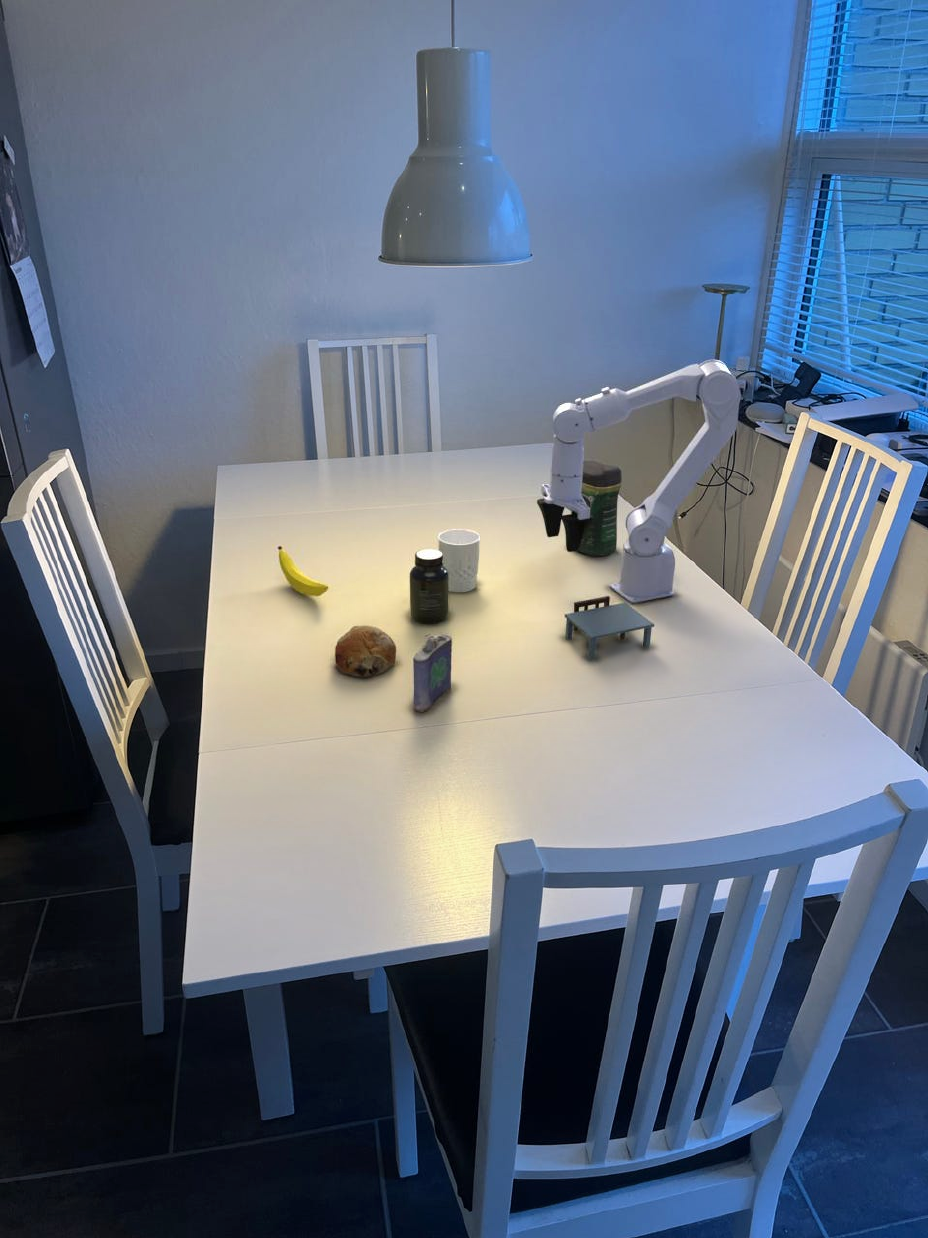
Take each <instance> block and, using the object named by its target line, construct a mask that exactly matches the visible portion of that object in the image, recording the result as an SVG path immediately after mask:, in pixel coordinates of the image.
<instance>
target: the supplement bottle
mask: <svg viewBox="0 0 928 1238" xmlns="http://www.w3.org/2000/svg"><path fill="white" fill-rule="evenodd" d="M449 603H450V591H449V573H448V571H447V569H446V568H445V567H444V566H443V554H442V552H440V551H439V549H434V548H425V549H421V550H418V551H416V552H415V553H414V566H413V567H412V568H411V569H410V571H409V609H410V612H409V613H410V617H411V618H412V620H413V621H415V622H416V623H419V624H423V625H433V624H434V625H435V624H439V623H442V622H445V621H446V620H447V619H448V617H449V615H450V604H449Z"/></svg>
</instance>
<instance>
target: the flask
mask: <svg viewBox="0 0 928 1238" xmlns="http://www.w3.org/2000/svg"><path fill="white" fill-rule="evenodd" d="M423 639H424V640H425V639H426V641H425V643H424V644H423V645H422V646H421V647H420V648H419V649H418V650H417V652H416V653H415V654H414V655H413V658H412V663H413V666H412V667H413V669H412V670H413V708H414V709H413V710H414V711H415V712H420V713H424V712H427V711H429V710H431V709H432V707H433V705H435V704H437V703H438V702H439V701H440V699H441V697H444V695H445V694H447V693H448V692H450V691H451V690H452V658H453V657H452V653H453V652H452V651H453V648H452V647H453V638H452V637H451V635H448V634H440V635H438V636H436V637H435V636H434V635H433V634H431V633H426V634H424V637H423Z"/></svg>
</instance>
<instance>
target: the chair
mask: <svg viewBox="0 0 928 1238" xmlns="http://www.w3.org/2000/svg"><path fill="white" fill-rule="evenodd" d="M610 601H611V597H610V596H609V595H606V596H600V597H596V598H591V599H585V600H581V601H575V602H573V613H574V612H579V611H580V608H583V611H584V610H589V606H594V608H599V607H600V605H601V604H603V607H604V606H609V605H610ZM578 631H579V629H578V628H577V627H576V626H575V625H574V624H573V633H574V632H575V633H577V632H578ZM625 639H626V632H625V633H621V634H619V640H621V641H624V640H625Z"/></svg>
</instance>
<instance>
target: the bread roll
mask: <svg viewBox="0 0 928 1238" xmlns="http://www.w3.org/2000/svg"><path fill="white" fill-rule="evenodd" d="M396 654H397V645H396V643H395V641H394V639H393V638H392V637H391V636H390V635H389V634H388V633H387V632H385V631H383V630H382V629H380V628H378V627H375V626H372V625H353V626H352V627H351V628H350V629H349V630H348V631H347V632H346V633H344V635H342V636H340V638H339V639H338V640H337V643H336V645H335V648H334V658H335V659H334V660H335V665H336V667H337V668H338V669H339V670H340V672H342V673H343V674H344V675H347V676H352V677H358V678H361V677H363V678H368V677H374V676H377V675H380V674H382V673H384V672H386V671H388V670H390V669H391V668H392V666H393V665H394V664H396V660H397V659H396V658H397V655H396Z"/></svg>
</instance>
